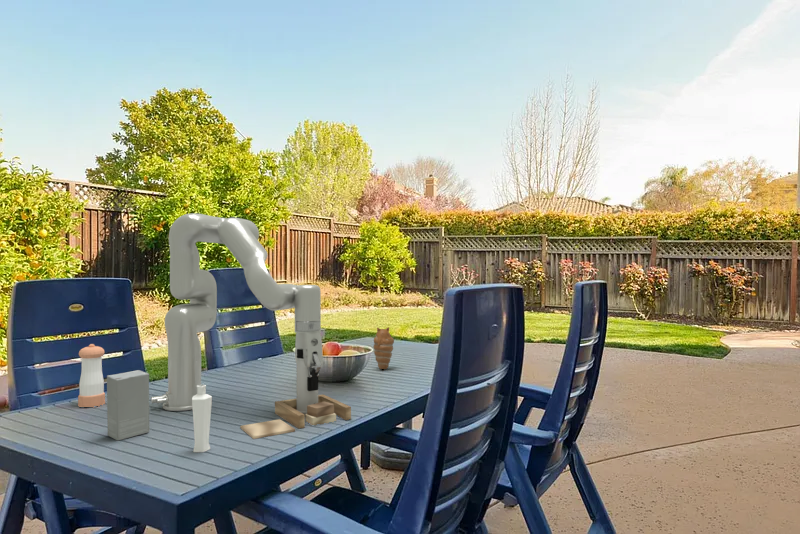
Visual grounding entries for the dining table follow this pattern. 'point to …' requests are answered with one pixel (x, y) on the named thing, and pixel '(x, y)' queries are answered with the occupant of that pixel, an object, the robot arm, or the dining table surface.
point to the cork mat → (267, 428)
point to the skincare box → (127, 404)
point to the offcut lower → (321, 419)
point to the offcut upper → (320, 409)
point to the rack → (296, 418)
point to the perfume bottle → (201, 418)
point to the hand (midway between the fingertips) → (307, 387)
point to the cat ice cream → (383, 347)
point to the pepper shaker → (91, 377)
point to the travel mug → (304, 385)
